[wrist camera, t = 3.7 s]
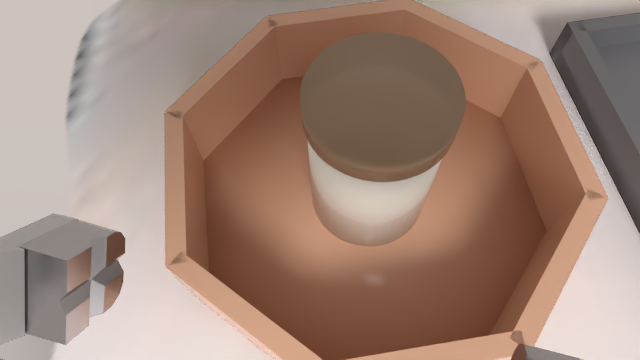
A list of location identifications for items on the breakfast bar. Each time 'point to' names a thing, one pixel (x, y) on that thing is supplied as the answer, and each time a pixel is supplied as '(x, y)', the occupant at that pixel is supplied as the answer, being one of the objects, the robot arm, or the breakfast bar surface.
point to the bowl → (402, 254)
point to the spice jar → (377, 132)
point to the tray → (607, 93)
